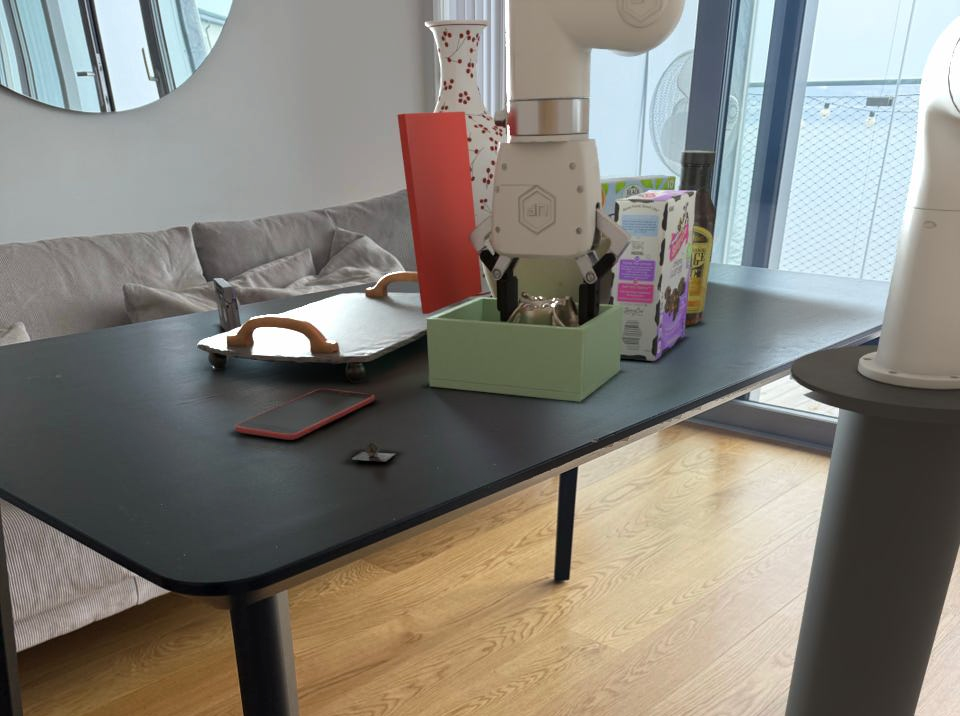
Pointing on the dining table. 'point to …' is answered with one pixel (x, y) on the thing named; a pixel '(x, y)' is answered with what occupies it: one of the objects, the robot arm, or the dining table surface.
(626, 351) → the candy box
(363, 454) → the square plate with knob
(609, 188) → the snack box
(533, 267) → the flower pot
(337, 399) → the smartphone
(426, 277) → the lid
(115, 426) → the dining table surface
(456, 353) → the open storage box
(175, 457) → the dining table surface
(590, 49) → the robot arm
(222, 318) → the mini dv tape
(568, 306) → the ornament
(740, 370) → the dining table surface
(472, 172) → the vase
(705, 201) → the sauce bottle
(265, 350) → the serving tray
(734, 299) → the dining table surface
